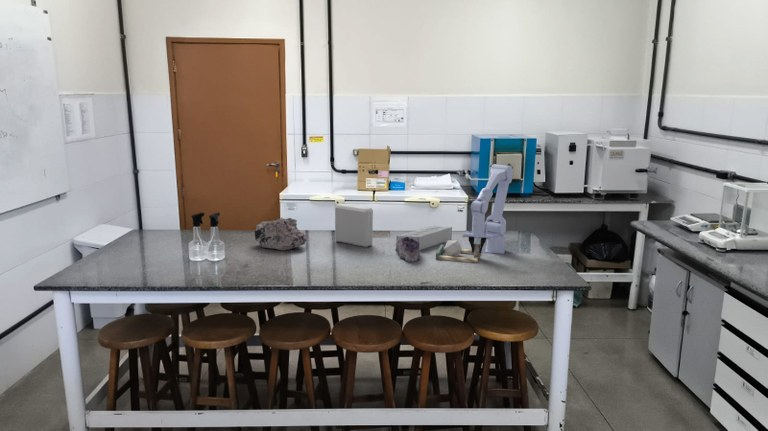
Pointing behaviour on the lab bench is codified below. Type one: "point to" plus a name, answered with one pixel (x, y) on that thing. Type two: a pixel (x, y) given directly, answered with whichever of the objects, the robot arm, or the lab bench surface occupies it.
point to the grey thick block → (353, 225)
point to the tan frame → (463, 259)
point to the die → (452, 248)
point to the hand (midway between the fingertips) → (476, 252)
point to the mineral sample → (279, 234)
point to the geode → (408, 249)
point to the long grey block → (429, 236)
